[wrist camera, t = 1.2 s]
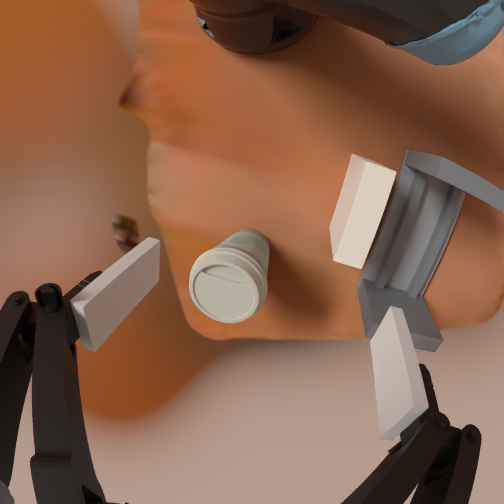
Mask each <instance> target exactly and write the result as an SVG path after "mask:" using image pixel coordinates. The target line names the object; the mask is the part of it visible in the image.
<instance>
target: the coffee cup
mask: <svg viewBox="0 0 504 504" xmlns="http://www.w3.org/2000/svg"><path fill="white" fill-rule="evenodd" d="M269 255H270V246H269V243H268V241H267V239H266V238H265V236H264V235H263V234H261V233H260V232H258V231H256V230H254V229H241V230H239V231H237V232H235V233H234V234H233V235H231V236H230V237H229V238H227V239H226V240H225V241H223V242H222V243H221V244H219V245H218V246H217V247H215V248H214V249H211V250H208V251H206V252H204V253H203V254H202V255H200V256H199V257H198V259H197V260H196V261H195V263H194V265H193V267H192V270H191V273H190V282H189V290H190V294H191V297H192V299H193V301H194V303H195V305H196V306H197V307H198V308H199V309H200V310H201V311H202V312H203V313H204V314H205V315H207V316H208V317H210V318H212V319H214V320H216V321H220V322H224V323H237V322H241V321H244V320H246V319H248V318H249V317H250V316H252V315H253V314H255V313H256V312H257V311H258V310H259V309H260V308H261V306H262V305H263V304H264V302H265V300H266V297H267V293H268V283H267V272H268V264H269Z"/></svg>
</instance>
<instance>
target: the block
mask: <svg viewBox="0 0 504 504" xmlns="http://www.w3.org/2000/svg"><path fill="white" fill-rule="evenodd" d="M396 173H397V172H395V171H393V170H392V169H390V168H388V167H386V166H384V165H382V164H379V163H377V162H375V161H373V160H370V159H367V158H364V157H361V156H358V155H355V154H352V155H351V159H350V162H349V166H348V169H347V173H346V176H345V180H344V183H343V186H342V190H341V193H340V196H339V199H338V203H337V206H336V209H335V212H334V215H333V218H332V221H331V225H330V236H331V244H332V253H333V261H336V262H339V263H343V264H346V265H349V266H353V267H356V268H359V269H362V267H363V264H364V262H365V259H366V257H367V254H368V252H369V249H370V247H371V244H372V242H373V239H374V236H375V234H376V231H377V229H378V226H379V223H380V220H381V218H382V215H383V212H384V209H385V206H386V203H387V200H388V197H389V194H390V191H391V188H392V185H393V182H394V179H395V176H396Z"/></svg>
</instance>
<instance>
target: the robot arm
mask: <svg viewBox="0 0 504 504" xmlns="http://www.w3.org/2000/svg"><path fill="white" fill-rule="evenodd" d="M189 1H191V2H192V3H193V4H194V6H195V11H196V15H197V19H198V22H199V24H200V26H201V27H202V29H203V30H204V32H205V33H206V34H207V35H208V36H209V37H210V38H212V39H213V40H214V41H215V42H217V43H218V44H220V45H221V46H223V47H225V48H227V49H230V50H232V51H236V52H240V53H247V54H263V53H270V52H274V51H278V50H281V49H284V48H286V47H288V46H290V45H292V44H294V43H296V42H297V41H299V40H300V39H301V38H303V37H304V36H305V35H306V34H307V33H308V32H309V30H310V29H311V28H312V26H313V25H314V23H315V20H316V18H317V15H318V16H322V17H325V18H328V19H331V20H334V21H336V22H339V23H342V24H345V25H347V26H350V27H352V28H355V29H357V30H360V31H362V32H365V33H367V34H369V35H372V36H374V37H376V38H378V39H380V40H382V41H384V42H385V44H386V45H388V46H390V47H392V48H395V49H402V50H404V51H406V52H408V53H410V54H412V55H414V56H416V57H418V58H420V59H422V60H424V61H426V62H428V63H431V64H434V65H453V64H457V63H460V62H463V61H465V60H467V59H469V58H471V57H473V56H474V55H476V54H477V53H478V52H480V51H481V50H482V49H484V48H485V47H486V46H487V45H488V44H489V43H490V42H491V41H492V40H493V39H494V38H495V37H496V36H497V35H498V33H499V32H500V31H501V29H502V27H503V26H504V0H189ZM159 254H160V240H157V239H154V238H150V237H148V238H147V239H145V240H144V241H143V242H141V243H140V244H139V245H137V246H136V247H135V248H133V249H132V250H131V251H130V252H128V253H127V254H126V255H125V256H123V257H122V258H121V259H120V260H118V261H117V262H116V263H115V264H113V265H112V266H111V267H109V268H108V269H107V270H106V271H105V272H102V271H97V272H94V273H92V274H90V275H89V276H87V277H86V278H85V279H84V280H83V281H81V282H80V283H79V284H78V285H76V286H75V287H74V288H72V289H71V290H70V291H69V292H68V293H67V294H65V295H64V296H62V291H61V288H60V287H59V286H58V285H57V284H54V283H47V284H43V285H42V286H40V287H39V288H37V289H36V291H35V297H36V300H37V303H36V302H31V301H30V299H29V295H28V294H27V293H26V292H24V291H18V292H14V293H12V294H11V295H10V296H9V297H8V298H7V300H6V301H5V303H4V305H3V307H2V309H1V310H0V504H14V498H13V496H12V495H11V493H10V491H9V489H8V486H9V484H10V480H11V476H12V470H13V464H14V455H15V448H16V441H17V435H18V430H19V424H20V419H21V414H22V410H23V405H24V401H25V397H26V393H27V389H28V386H29V382H30V378H31V375H32V417H33V434H34V445H35V455H34V456H32V457H31V460H30V467H31V474H32V480H33V485H34V491H35V496H36V500H37V504H118V503H108V502H106V499H105V496H104V493H103V490H102V488H101V486H100V484H99V481H98V480H97V477H96V474H95V471H94V467H93V463H92V459H91V455H90V451H89V446H88V441H87V435H86V430H85V425H84V419H83V412H82V405H81V397H80V389H79V378H78V366H77V350H76V349H77V348H76V344H75V342H76V341H77V340H78V339H79V338H80V340H81V344H82V346H83V347H85V348H87V349H88V350H90V351H92V352H95V351H96V350H97V349H98V348H99V347H100V346H101V344H102V343H103V342H104V341H105V340H106V338H108V336H109V335H110V334H111V333H112V332H113V331H114V330H115V328H116V327H117V326H118V325H119V324H120V323H121V322H122V321H123V319H124V318H125V317H126V316H127V315H128V314H129V313H130V312H131V311H132V309H133V308H134V307H135V306H136V305H137V304H138V303H139V302H140V301H141V299H142V298H143V297H144V296H145V295H146V294H147V293H148V292H149V291H150V290H151V289H152V287H154V285H155V284H156V283H157V282H158V281H159V256H160V255H159ZM370 346H371V354H372V361H373V370H374V380H375V390H376V402H377V416H378V438H379V439H381V440H394V439H395V438H396V437H397V436H398V435H399V434H400V438H401V441H400V442H399V443H397V444H396V445H395V446H394V447H392V448H391V449H390V450H389V451H388V452H390V453H389V454H388V455H387V456H386V458H385V459H384V460H383V461H382V462H381V463H380V464H379V466H378V467H377V468H376V469H375V470H374V471H373V472H372V473H371V474H370V476H369V477H368V478H367V479H366V480H365V481H364V482H363V483H362V484H361V485H360V486H359V487H358V488H357V489H356V490H355V491H354V492H353V493H352V494H351V495H350V496H348V497H347V498H346V499H345V500H344V501H343V502H342V503H341V504H403V503H404V502H405V500H406V499H407V498H408V497H409V495H410V494H411V493H412V491H413V490H414V488H415V487H416V486H417V484H418V483H419V484H418V486H417V488H416V491H415V493H414V496H413V498H412V500H411V502H410V504H468V502H469V499H470V495H471V491H472V487H473V483H474V479H475V474H476V470H477V465H478V459H479V453H480V447H481V433H480V431H479V429H478V428H477V427H476V426H474V425H472V424H469V425H466V426H465V427H464V428H463V429H462V430H461V429H458V428H455V427H453V426H450V421H449V419H448V418H447V417H446V415H445V414H443V413H441V412H439V409H438V404H437V400H436V396H435V392H434V389H433V384H432V382H431V381H432V380H431V376H430V373H429V371H428V369H427V368H426V366H425V365H424V364H419V363H418V360H417V356H416V353H415V349H414V345H413V342H412V339H411V335H410V332H409V329H408V326H407V323H406V319H405V316H404V313H403V310H402V309H401V308H397V307H393V306H390V308H389V309H388V311H387V313H386V315H385V317H384V319H383V320H382V322H381V324H380V326H379V327H378V329H377V331H376V333H375V334H374V336H373V338H372V339H371V341H370ZM125 504H128V503H125Z"/></svg>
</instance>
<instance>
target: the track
mask: <svg viewBox="0 0 504 504" xmlns="http://www.w3.org/2000/svg"><path fill="white" fill-rule="evenodd" d="M466 193H468V194H470V195H472V196H474V197H476V198H478V199H480V200H482V201H483V202H485V203H487V204H489V205H491V206H493V207H494V208H496V209H498V210H500V211H501V212H503V213H504V191H503V190H501V189H500V188H498V187H496V186H495V185H493V184H492V183H490V182H488V181H487V180H485V179H483V178H481V177H480V176H478V175H476V174H474V173H473V172H471V171H469V170H467V169H465V168H463V167H462V166H460V165H458V164H456V163H454V162H452V161H450V160H448V159H446V158H444V157H442V156H438V155H434V154H429V153H425V152H420V151H416V150H411V149H406V151H405V155H404V159H403V162H402V165H401V169H400V172H399V175H398V178H397V182H396V185H395V188H394V191H393V194H392V197H391V200H390V203H389V206H388V209H387V211H386V214H385V217H384V220H383V223H382V225H381V228H380V231H379V233H378V236H377V238H376V241H375V244H374V246H373V249H372V251H371V254H370V256H369V259H368V261H367V263H366V266H365V268H364V271H363V273H362V275H361V277H360V280H359V282H358V284H357V292H358V297H359V302H360V307H361V313H362V318H363V324H364V330H365V336H366V337H368V338H373V336H374V334H375V333H376V331H377V329H378V327H379V326H380V324H381V322H382V320H383V319H384V317H385V315H386V313H387V311H388V309H389V308H390V306H393V307H397V308H401V309H402V310H403V313H404V316H405V319H406V323H407V326H408V329H409V332H410V335H411V339H412V342H413V345H414V348H416V349H421V350H426V351H431V352H435V351H436V350H437V348H438V347H439V346H440V344H441V343H442V341H443V338H442V336H441V334H440V332H439V329H438V327H437V325H436V323H435V321H434V319H433V317H432V315H431V313H430V311H429V309H428V307H427V305H426V303H425V301H424V299H423V297H422V295H423V293H424V291H425V289H426V287H427V285H428V283H429V281H430V279H431V277H432V275H433V273H434V271H435V269H436V267H437V265H438V263H439V261H440V258H441V256H442V254H443V252H444V250H445V247H446V245H447V243H448V240H449V238H450V235H451V233H452V231H453V228H454V225H455V223H456V220H457V218H458V215H459V212H460V210H461V207H462V204H463V201H464V198H465V195H466Z"/></svg>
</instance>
